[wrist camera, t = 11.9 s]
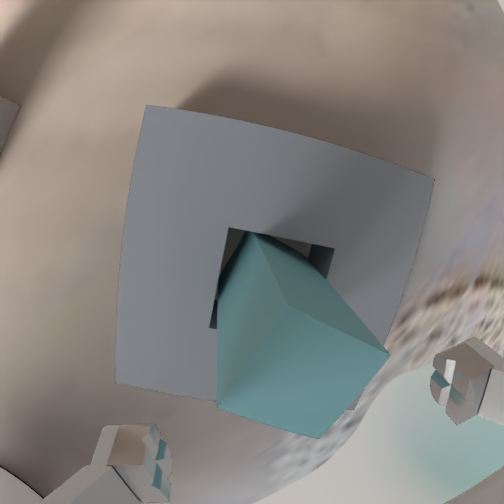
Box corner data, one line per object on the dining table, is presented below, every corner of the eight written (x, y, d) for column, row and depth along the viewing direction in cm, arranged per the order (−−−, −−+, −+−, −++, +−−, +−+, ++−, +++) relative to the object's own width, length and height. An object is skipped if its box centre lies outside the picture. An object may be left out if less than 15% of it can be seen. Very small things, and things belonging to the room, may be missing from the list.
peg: (271, 305, 21) (318, 439, 10) (218, 278, 21) (216, 407, 9) (303, 254, 21) (390, 355, 9) (249, 224, 20) (287, 305, 8)
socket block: (333, 371, 25) (353, 409, 20) (132, 342, 22) (115, 382, 18) (394, 174, 21) (434, 179, 16) (164, 118, 19) (146, 104, 14)
